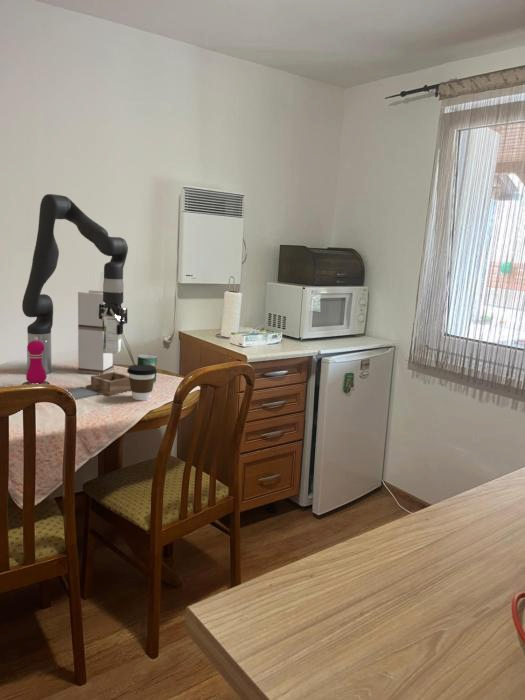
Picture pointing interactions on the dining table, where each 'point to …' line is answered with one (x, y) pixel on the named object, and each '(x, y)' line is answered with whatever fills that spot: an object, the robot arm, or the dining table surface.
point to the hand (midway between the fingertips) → (112, 332)
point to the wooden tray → (110, 383)
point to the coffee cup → (141, 381)
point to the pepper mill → (35, 362)
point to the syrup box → (111, 336)
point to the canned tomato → (148, 360)
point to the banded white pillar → (91, 335)
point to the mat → (82, 392)
